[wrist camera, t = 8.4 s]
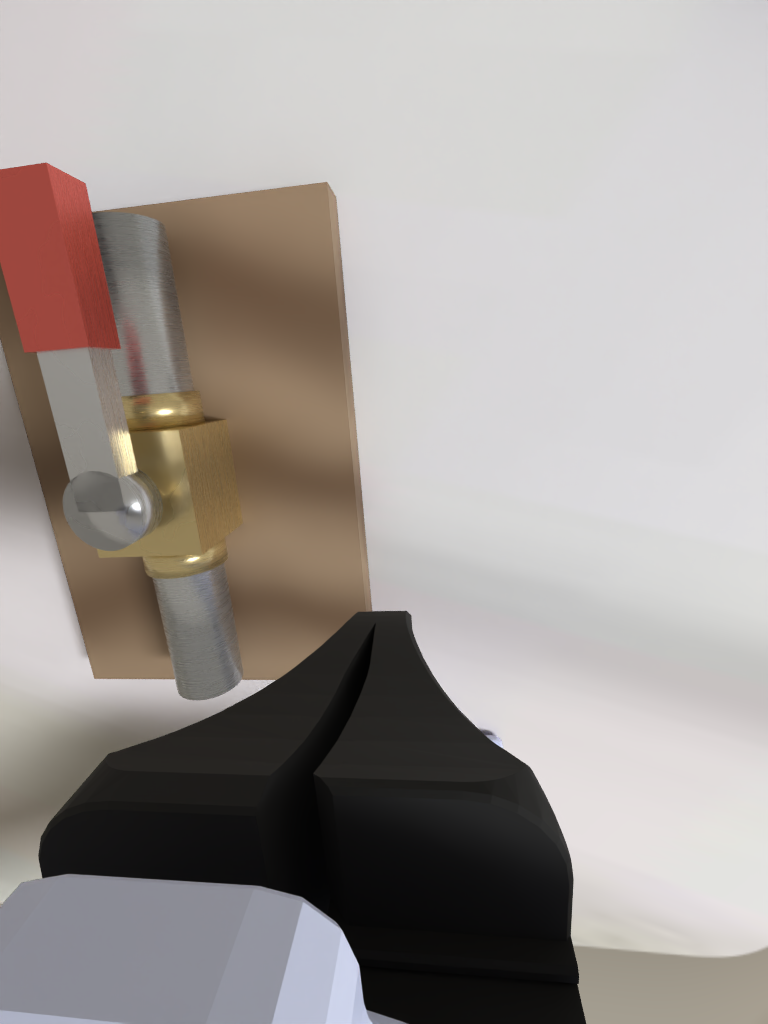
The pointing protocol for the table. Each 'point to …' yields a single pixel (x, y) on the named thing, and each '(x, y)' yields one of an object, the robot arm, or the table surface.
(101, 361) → the lever
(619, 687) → the table surface
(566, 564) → the table surface
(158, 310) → the valve housing
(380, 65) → the table surface
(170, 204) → the mounting board
